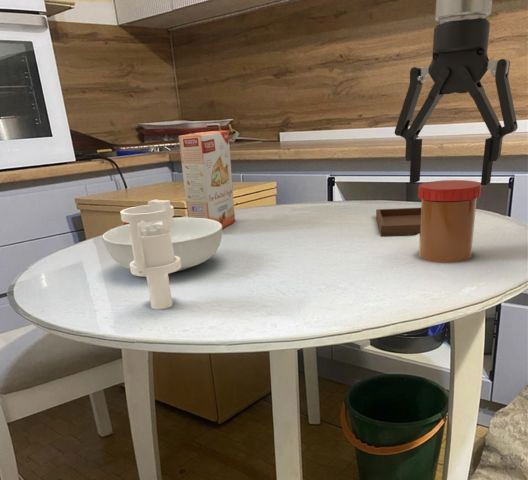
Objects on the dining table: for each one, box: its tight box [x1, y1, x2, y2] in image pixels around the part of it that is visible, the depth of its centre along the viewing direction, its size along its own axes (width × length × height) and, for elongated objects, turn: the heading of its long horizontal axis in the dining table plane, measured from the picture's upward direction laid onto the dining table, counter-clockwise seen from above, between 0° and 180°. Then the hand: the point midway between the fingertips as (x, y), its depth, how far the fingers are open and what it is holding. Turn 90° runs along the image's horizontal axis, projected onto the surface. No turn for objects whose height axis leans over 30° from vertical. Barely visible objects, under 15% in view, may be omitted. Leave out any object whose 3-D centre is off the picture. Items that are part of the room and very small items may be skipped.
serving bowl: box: [102, 216, 223, 273], centre depth 95 cm, size 21×21×7 cm
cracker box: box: [178, 130, 236, 229], centre depth 121 cm, size 14×6×21 cm, turn 160°
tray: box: [375, 207, 421, 237], centre depth 113 cm, size 18×14×2 cm
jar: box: [418, 198, 478, 264], centre depth 87 cm, size 8×8×12 cm
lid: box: [417, 179, 483, 201], centre depth 85 cm, size 10×10×2 cm
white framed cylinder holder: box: [119, 199, 181, 310], centre depth 74 cm, size 7×7×15 cm
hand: (448, 182), depth 85 cm, fingers open, 10 cm apart
